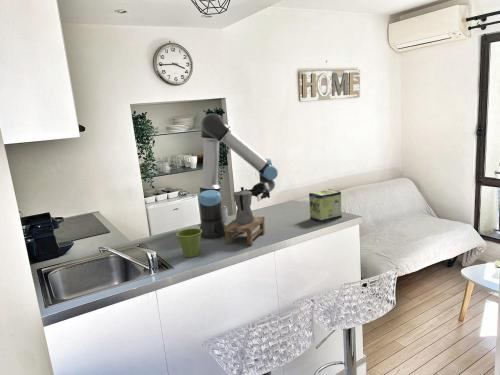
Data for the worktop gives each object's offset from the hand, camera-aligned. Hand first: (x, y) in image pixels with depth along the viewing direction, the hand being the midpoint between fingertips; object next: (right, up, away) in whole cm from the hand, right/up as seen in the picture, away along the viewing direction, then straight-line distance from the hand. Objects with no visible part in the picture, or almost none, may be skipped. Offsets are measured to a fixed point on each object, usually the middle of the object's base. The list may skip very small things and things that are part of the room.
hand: (245, 198), depth 192 cm
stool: (0, -21, +3) cm, 21 cm away
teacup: (-15, -15, +41) cm, 46 cm away
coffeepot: (0, -12, +1) cm, 12 cm away
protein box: (+46, -13, +29) cm, 56 cm away
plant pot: (-25, -26, -14) cm, 39 cm away
